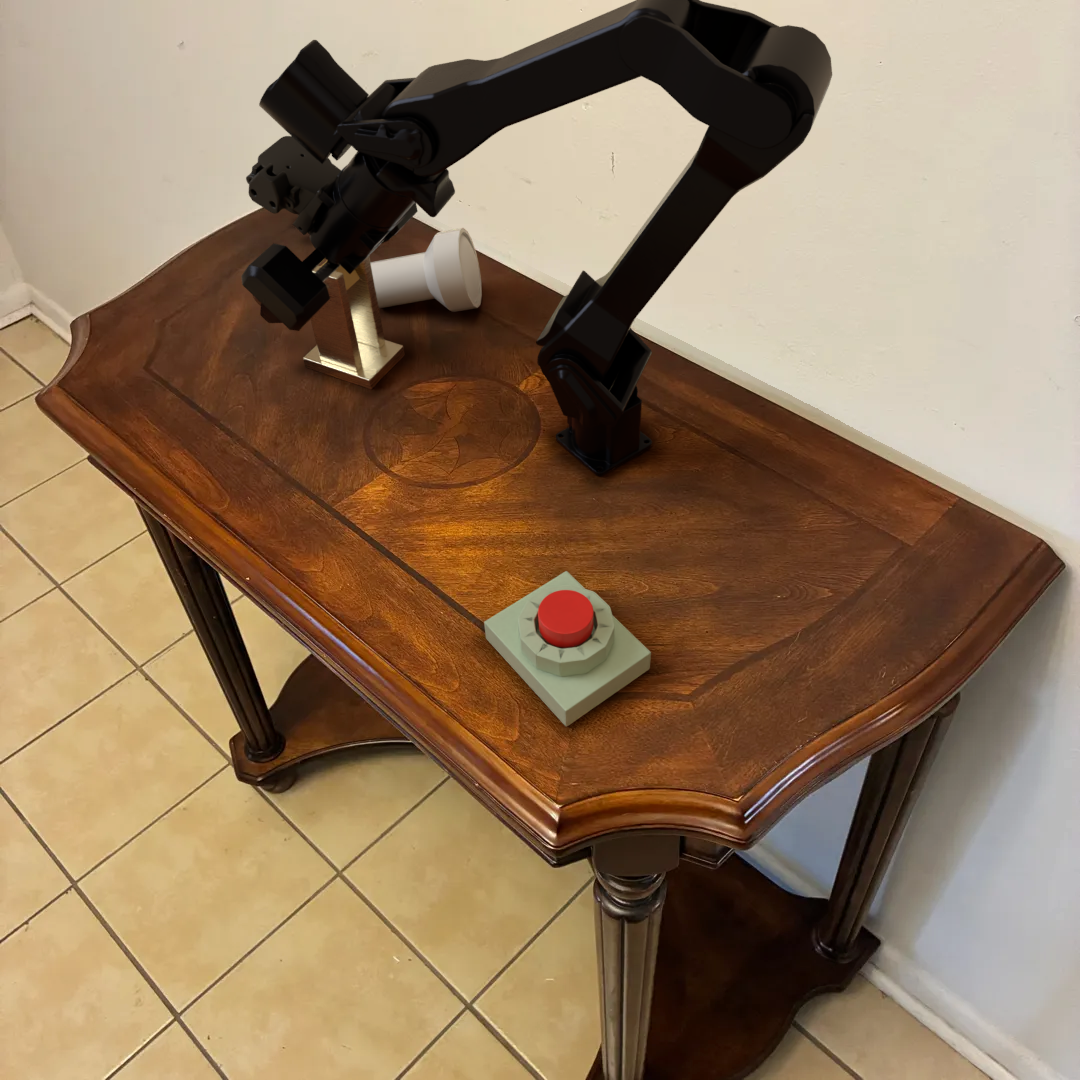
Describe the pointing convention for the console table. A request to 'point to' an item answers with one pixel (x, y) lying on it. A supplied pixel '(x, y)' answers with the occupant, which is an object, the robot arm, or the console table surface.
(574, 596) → the red button
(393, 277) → the spotlight
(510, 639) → the button box
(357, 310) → the switch bracket
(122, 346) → the console table surface
